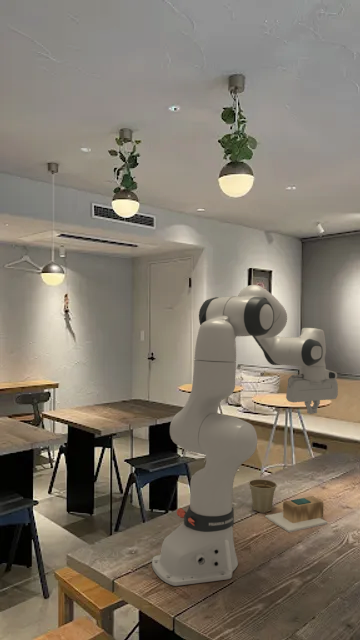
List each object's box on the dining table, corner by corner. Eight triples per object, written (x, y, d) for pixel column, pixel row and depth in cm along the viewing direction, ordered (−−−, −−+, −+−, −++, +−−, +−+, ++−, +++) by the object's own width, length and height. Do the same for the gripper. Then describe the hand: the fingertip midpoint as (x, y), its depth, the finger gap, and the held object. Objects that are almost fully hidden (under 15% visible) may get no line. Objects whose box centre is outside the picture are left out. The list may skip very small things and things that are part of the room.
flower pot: (267, 502, 169) (268, 477, 169) (281, 513, 160) (282, 486, 160) (243, 505, 166) (243, 480, 166) (256, 516, 157) (256, 489, 157)
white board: (288, 532, 145) (288, 530, 145) (265, 517, 156) (265, 515, 156) (327, 523, 151) (327, 521, 151) (302, 509, 162) (302, 508, 162)
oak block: (323, 516, 155) (293, 523, 150) (313, 511, 160) (283, 517, 155) (323, 500, 155) (293, 506, 150) (313, 495, 160) (283, 500, 155)
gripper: (294, 376, 161) (293, 417, 162) (341, 373, 170) (340, 412, 170) (282, 374, 167) (282, 414, 167) (328, 371, 176) (328, 409, 176)
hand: (312, 413), depth 169 cm, fingers closed
